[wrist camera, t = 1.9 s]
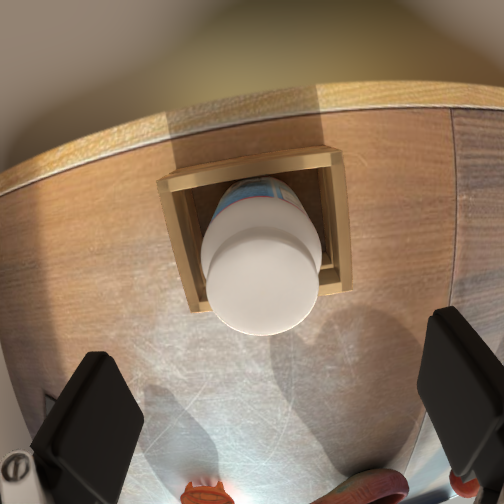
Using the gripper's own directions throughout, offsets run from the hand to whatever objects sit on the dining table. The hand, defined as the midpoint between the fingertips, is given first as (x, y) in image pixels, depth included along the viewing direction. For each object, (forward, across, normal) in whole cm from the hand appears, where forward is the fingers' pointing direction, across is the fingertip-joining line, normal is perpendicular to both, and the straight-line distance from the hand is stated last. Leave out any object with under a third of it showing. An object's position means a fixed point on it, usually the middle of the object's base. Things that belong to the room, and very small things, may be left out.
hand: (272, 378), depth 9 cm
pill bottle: (+16, 0, 0) cm, 16 cm away
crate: (+16, 0, 0) cm, 16 cm away
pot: (+16, +14, +39) cm, 44 cm away
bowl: (+17, -7, +41) cm, 45 cm away
